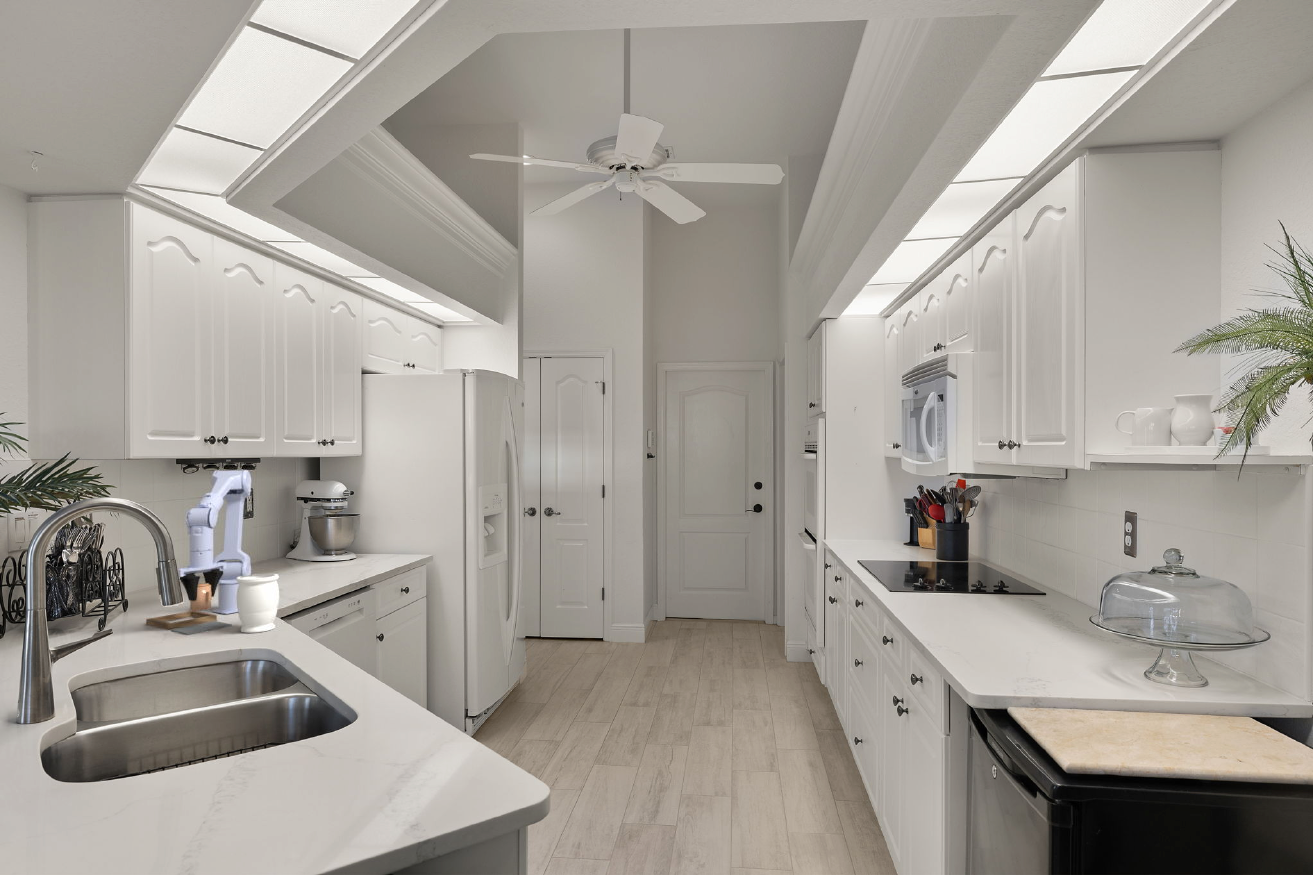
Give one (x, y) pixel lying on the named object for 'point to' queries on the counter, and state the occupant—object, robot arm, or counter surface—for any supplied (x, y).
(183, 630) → the mat
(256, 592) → the jar
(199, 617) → the wooden tray
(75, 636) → the counter surface
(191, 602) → the jug
